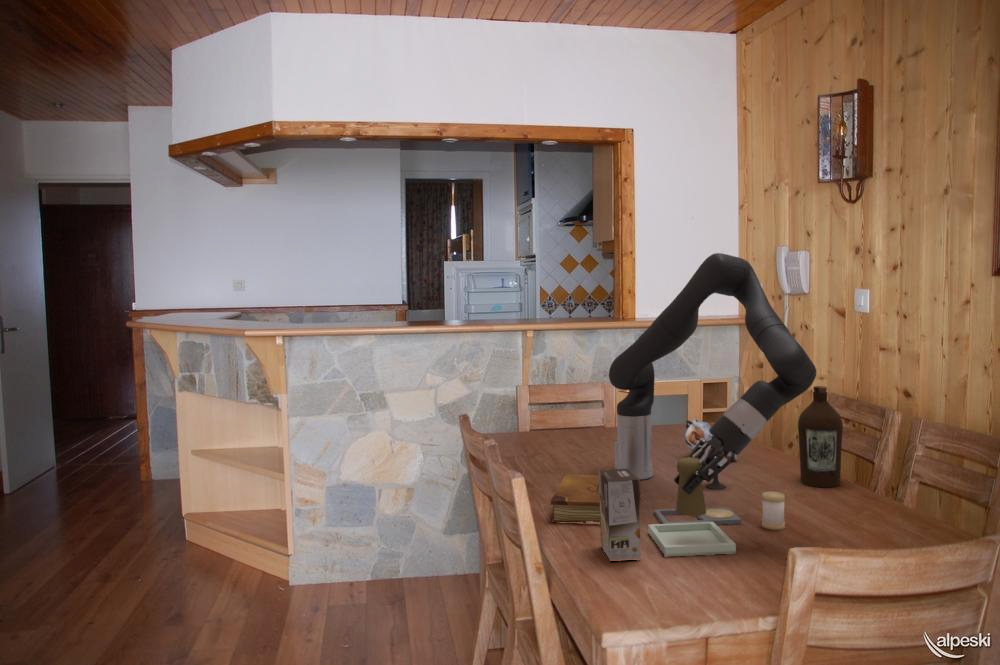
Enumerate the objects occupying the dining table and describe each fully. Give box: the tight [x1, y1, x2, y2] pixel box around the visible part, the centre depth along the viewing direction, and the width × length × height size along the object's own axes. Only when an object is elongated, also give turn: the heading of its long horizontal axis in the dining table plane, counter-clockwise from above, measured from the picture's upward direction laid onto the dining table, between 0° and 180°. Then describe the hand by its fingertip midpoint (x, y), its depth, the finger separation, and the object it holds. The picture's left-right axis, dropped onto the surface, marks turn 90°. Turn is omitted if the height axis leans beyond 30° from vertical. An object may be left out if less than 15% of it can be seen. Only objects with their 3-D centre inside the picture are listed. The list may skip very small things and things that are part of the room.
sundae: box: [704, 437, 727, 490], centre depth 199 cm, size 7×7×15 cm
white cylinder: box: [761, 491, 786, 531], centre depth 167 cm, size 5×5×7 cm
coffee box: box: [598, 468, 641, 560], centre depth 153 cm, size 9×6×16 cm
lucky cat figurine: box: [684, 419, 738, 463], centre depth 227 cm, size 15×12×14 cm
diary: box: [550, 474, 642, 523], centre depth 183 cm, size 23×19×6 cm
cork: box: [675, 456, 707, 517], centre depth 157 cm, size 6×6×11 cm
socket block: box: [653, 506, 742, 526], centre depth 173 cm, size 17×10×1 cm, turn 92°
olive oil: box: [797, 385, 844, 488], centre depth 198 cm, size 11×11×25 cm
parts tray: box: [647, 522, 737, 557], centre depth 158 cm, size 14×14×2 cm
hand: (681, 487), depth 157 cm, fingers closed on cork, 5 cm apart
